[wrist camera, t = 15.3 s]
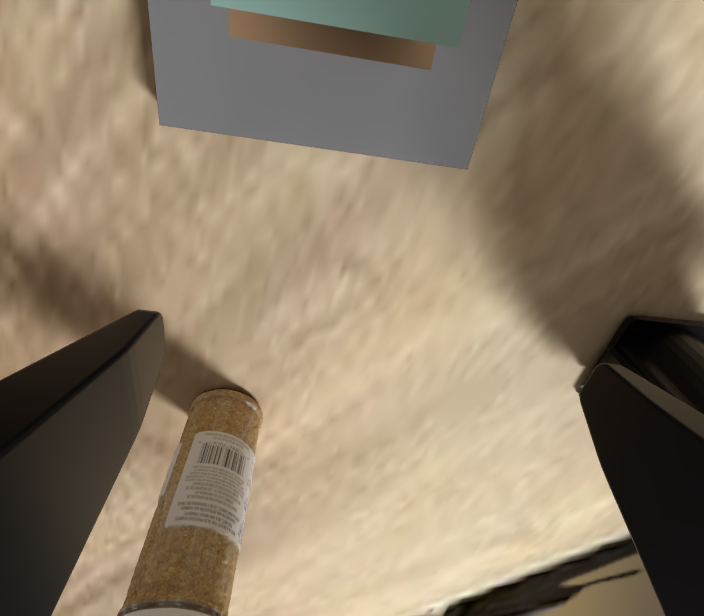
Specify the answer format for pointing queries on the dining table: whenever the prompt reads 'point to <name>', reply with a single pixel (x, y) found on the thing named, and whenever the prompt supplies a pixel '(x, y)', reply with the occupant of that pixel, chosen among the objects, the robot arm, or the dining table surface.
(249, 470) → the sprinkles bottle
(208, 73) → the slate board
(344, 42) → the walnut block
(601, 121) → the dining table surface
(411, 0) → the teal block
